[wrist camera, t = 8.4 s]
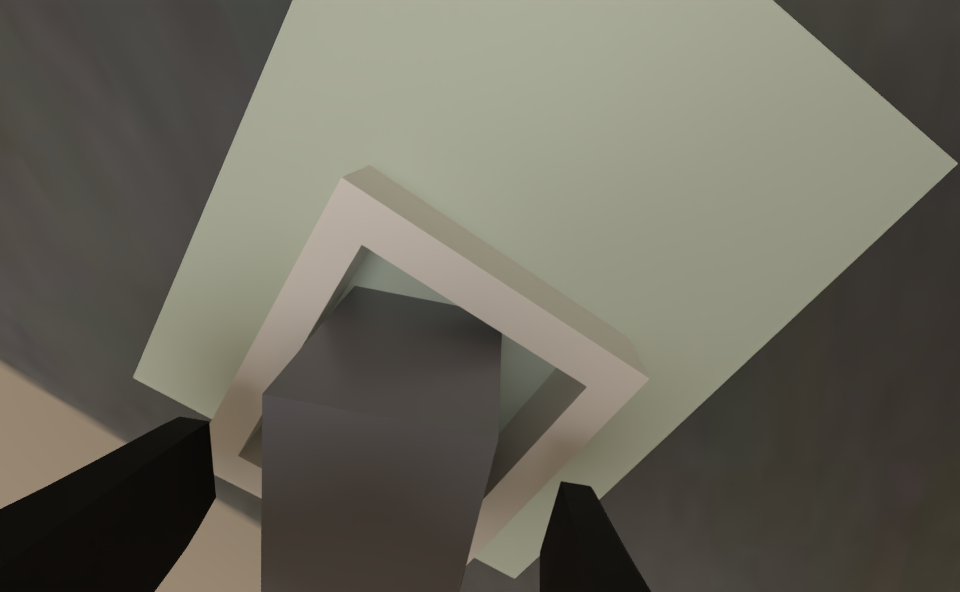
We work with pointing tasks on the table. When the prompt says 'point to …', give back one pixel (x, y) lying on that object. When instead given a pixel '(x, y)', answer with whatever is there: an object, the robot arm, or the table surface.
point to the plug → (379, 448)
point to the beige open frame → (474, 287)
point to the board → (559, 187)
